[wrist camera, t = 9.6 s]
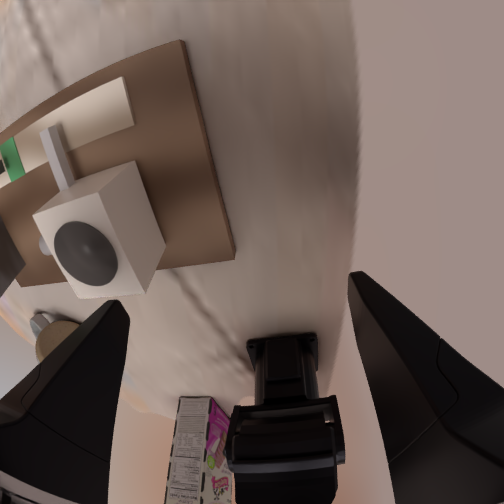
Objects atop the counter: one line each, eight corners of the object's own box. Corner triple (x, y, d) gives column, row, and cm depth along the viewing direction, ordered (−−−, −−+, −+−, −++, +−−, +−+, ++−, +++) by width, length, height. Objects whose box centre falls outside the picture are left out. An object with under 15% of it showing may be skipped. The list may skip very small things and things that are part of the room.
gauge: (166, 246, 18) (144, 296, 14) (77, 261, 19) (49, 303, 15) (116, 96, 12) (67, 110, 9) (26, 142, 13) (-21, 169, 10)
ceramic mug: (106, 329, 26) (80, 391, 19) (110, 366, 30) (92, 417, 24) (29, 295, 24) (-4, 345, 18) (42, 336, 29) (19, 381, 22)
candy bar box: (237, 423, 39) (232, 517, 25) (207, 424, 40) (198, 514, 26) (213, 395, 33) (201, 515, 19) (178, 395, 33) (160, 508, 20)
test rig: (235, 250, 20) (226, 330, 14) (25, 281, 22) (-7, 328, 17) (184, 41, 12) (132, 22, 6) (-31, 163, 15) (-81, 199, 9)
